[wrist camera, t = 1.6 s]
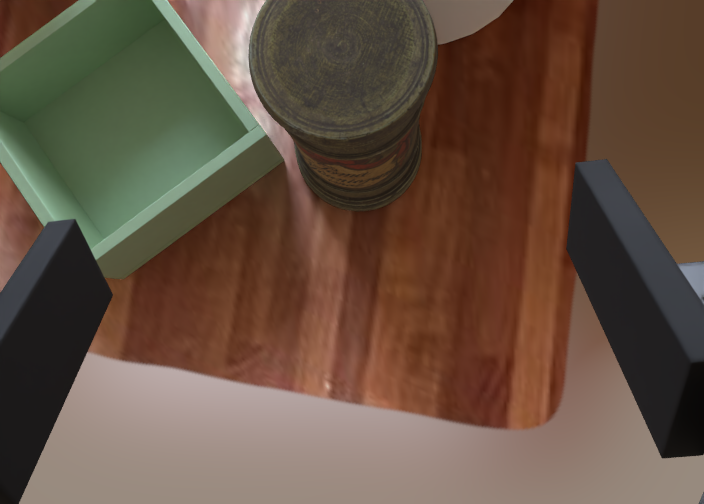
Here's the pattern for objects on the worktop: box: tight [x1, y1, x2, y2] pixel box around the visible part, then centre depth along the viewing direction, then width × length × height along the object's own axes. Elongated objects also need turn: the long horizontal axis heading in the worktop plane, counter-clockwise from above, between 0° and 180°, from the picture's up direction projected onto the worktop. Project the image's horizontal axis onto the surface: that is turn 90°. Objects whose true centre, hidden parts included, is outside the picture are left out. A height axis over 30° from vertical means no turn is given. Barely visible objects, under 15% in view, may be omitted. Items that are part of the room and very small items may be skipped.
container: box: [249, 0, 438, 211], centre depth 36 cm, size 9×9×18 cm
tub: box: [0, 0, 284, 279], centre depth 42 cm, size 15×15×7 cm
